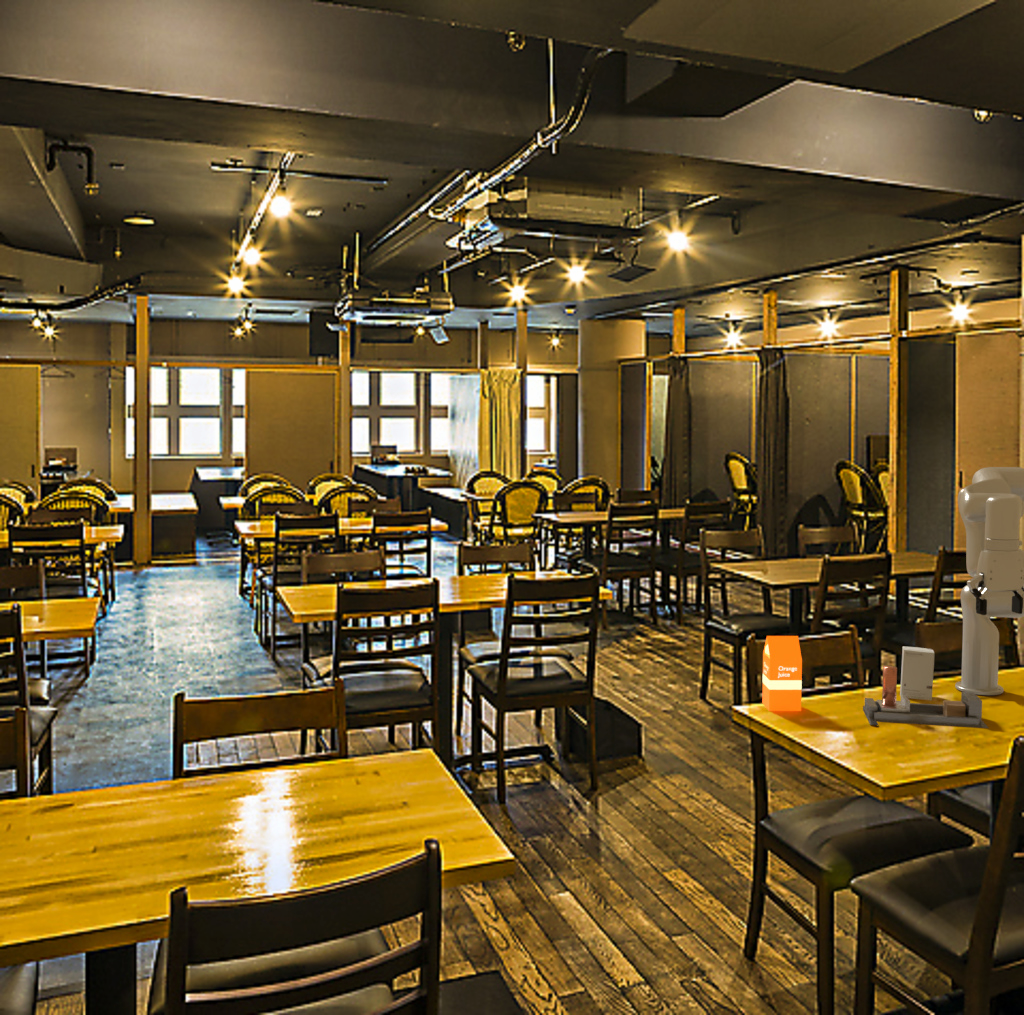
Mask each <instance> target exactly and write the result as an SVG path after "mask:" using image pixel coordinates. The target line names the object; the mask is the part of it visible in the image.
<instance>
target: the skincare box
mask: <svg viewBox="0 0 1024 1015" xmlns="http://www.w3.org/2000/svg"><path fill="white" fill-rule="evenodd" d="M901 648H902V650H901V651H902V654H901V673H900V686H899V687H900V690H899V691H900V692H899V696H901V694H905V695H906V696H907V698H908V699H913V700H914V699H915V700H923V701H924V700H925V701H932V699H933V686H934V685H933V684H934V669H935V651H934V649H932V648H926V647H925V648H924V647H918V646H902V647H901Z"/></svg>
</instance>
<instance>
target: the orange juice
mask: <svg viewBox="0 0 1024 1015" xmlns="http://www.w3.org/2000/svg"><path fill="white" fill-rule="evenodd" d="M799 639H800V638H799V635H766V638H765V643H764V648H763V651H762V700H761V701H762V702H761V703H762V704H763V706H764V707H765V709H767V710H768V712H802V688H803V686H802V684H803V681H802V680H803V678H802V676H803V675H802V674H803V673H802V672H803V657H802V653H801V652H802V651H801V647H800V640H799Z"/></svg>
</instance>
